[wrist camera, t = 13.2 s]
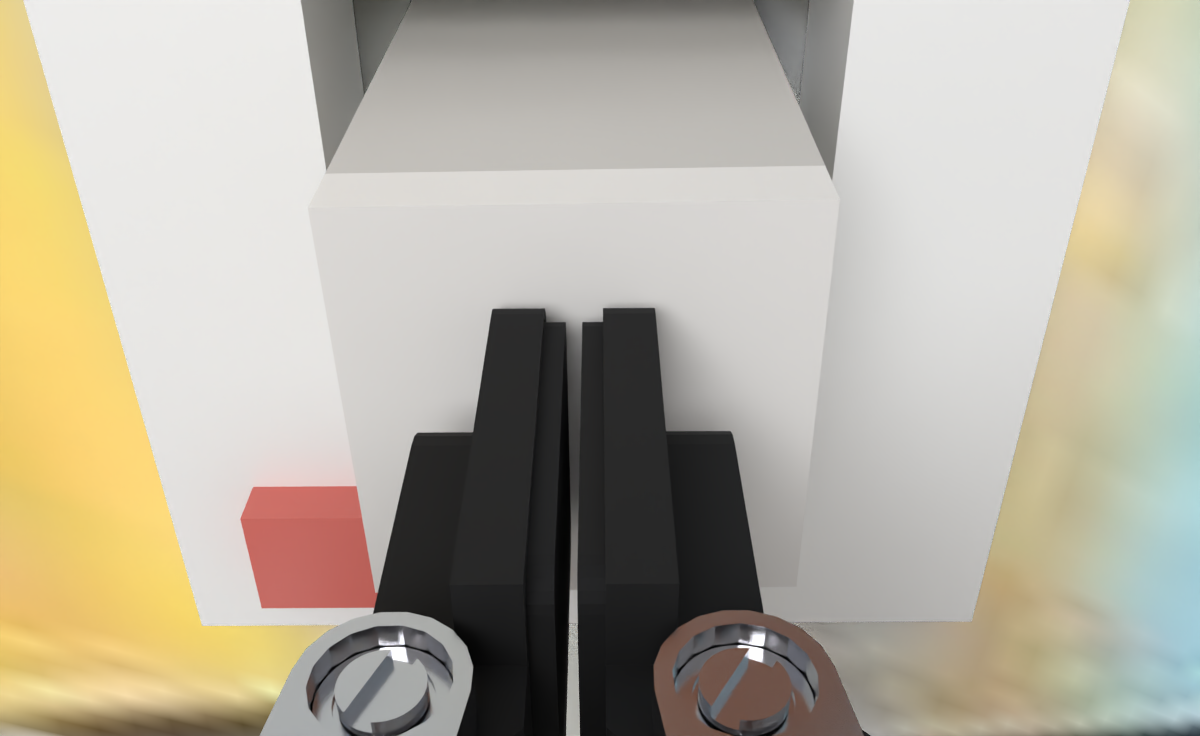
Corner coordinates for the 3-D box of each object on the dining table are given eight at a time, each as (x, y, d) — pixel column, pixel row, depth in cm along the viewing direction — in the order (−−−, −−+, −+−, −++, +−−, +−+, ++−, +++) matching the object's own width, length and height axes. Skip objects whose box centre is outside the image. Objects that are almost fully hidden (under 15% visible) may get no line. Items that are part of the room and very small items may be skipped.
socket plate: (929, 512, 23) (984, 655, 20) (245, 516, 23) (188, 659, 20) (1134, -463, 14) (1293, -492, 11) (14, -458, 14) (-158, -485, 11)
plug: (745, -17, 17) (839, 199, 10) (729, 272, 20) (796, 586, 13) (418, -11, 17) (307, 208, 10) (447, 276, 20) (375, 592, 13)
